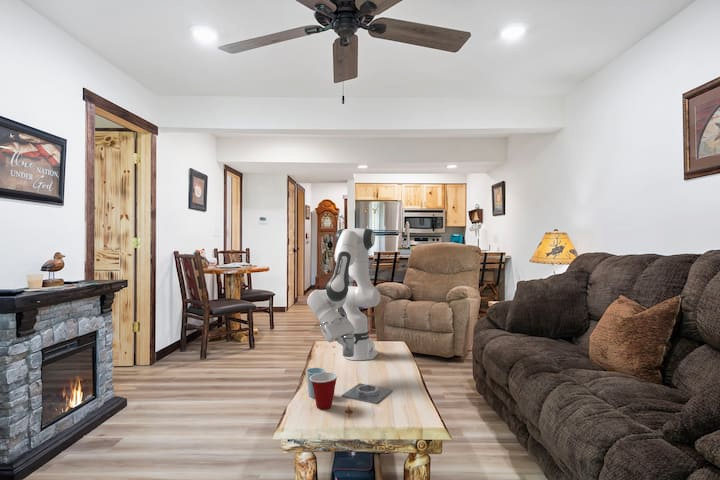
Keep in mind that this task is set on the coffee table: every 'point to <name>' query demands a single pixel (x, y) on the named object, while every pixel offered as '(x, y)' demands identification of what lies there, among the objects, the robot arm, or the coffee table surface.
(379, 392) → the flange
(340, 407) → the coffee table surface
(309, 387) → the cup
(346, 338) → the metal cylinder
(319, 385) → the plastic cup
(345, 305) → the robot arm
